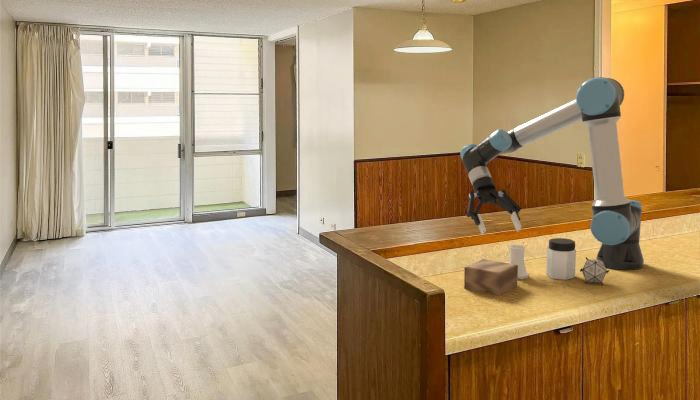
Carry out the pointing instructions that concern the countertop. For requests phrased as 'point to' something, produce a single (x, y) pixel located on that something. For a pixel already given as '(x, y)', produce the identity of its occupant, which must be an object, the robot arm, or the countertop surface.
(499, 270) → the walnut box
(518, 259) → the salt shaker
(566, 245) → the jar
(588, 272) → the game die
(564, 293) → the countertop surface
